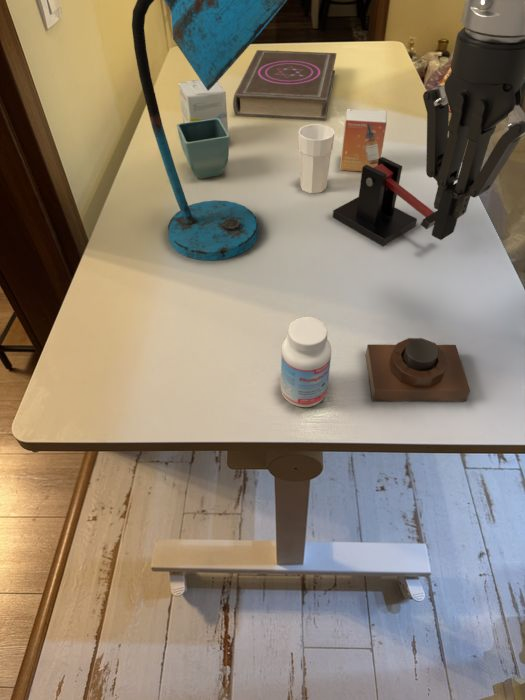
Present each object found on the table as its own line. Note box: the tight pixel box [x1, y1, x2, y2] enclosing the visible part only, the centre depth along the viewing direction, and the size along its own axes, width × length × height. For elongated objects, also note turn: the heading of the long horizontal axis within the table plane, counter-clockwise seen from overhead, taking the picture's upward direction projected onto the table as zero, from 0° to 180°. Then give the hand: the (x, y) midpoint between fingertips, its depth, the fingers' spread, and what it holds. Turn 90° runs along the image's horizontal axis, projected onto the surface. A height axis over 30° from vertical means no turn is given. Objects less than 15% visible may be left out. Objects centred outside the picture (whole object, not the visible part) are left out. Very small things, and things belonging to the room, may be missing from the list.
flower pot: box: [176, 118, 231, 180], centre depth 104 cm, size 9×9×9 cm
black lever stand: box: [332, 156, 418, 247], centre depth 90 cm, size 12×9×11 cm
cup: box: [298, 123, 335, 194], centre depth 99 cm, size 7×7×11 cm
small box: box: [339, 108, 388, 172], centre depth 104 cm, size 8×6×10 cm
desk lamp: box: [131, 0, 288, 262], centre depth 76 cm, size 16×22×45 cm
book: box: [232, 49, 337, 121], centre depth 133 cm, size 30×22×5 cm
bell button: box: [404, 338, 438, 371], centre depth 66 cm, size 4×4×2 cm
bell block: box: [365, 337, 471, 402], centre depth 68 cm, size 12×8×4 cm, turn 89°
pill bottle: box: [280, 316, 332, 408], centre depth 64 cm, size 6×6×11 cm
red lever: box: [374, 164, 438, 230], centre depth 86 cm, size 14×5×2 cm, turn 41°
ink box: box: [178, 79, 229, 133], centre depth 113 cm, size 9×9×12 cm
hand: (442, 233), depth 68 cm, fingers closed
